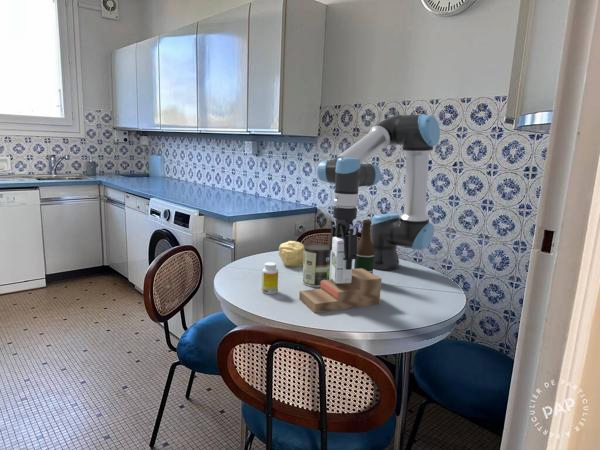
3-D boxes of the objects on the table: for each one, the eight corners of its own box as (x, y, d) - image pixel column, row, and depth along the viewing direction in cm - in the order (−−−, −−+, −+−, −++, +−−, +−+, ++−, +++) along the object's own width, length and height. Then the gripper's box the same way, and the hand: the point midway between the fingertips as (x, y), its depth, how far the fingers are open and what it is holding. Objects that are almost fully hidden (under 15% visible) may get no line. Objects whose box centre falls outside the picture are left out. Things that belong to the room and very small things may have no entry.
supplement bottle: (280, 293, 145) (281, 265, 143) (265, 295, 142) (265, 266, 140) (273, 288, 150) (274, 260, 148) (259, 290, 147) (260, 262, 145)
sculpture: (274, 265, 178) (275, 241, 175) (289, 259, 188) (290, 236, 186) (297, 270, 172) (298, 245, 170) (311, 264, 182) (313, 240, 180)
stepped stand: (360, 292, 150) (361, 268, 148) (379, 304, 139) (381, 278, 137) (299, 299, 140) (300, 273, 138) (314, 313, 129) (316, 285, 128)
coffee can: (330, 280, 162) (333, 244, 159) (327, 288, 152) (329, 251, 149) (304, 277, 164) (306, 242, 161) (299, 285, 154) (301, 248, 151)
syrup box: (351, 283, 136) (354, 240, 133) (334, 283, 135) (337, 240, 132) (346, 277, 141) (349, 236, 139) (329, 278, 140) (332, 236, 137)
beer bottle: (367, 285, 158) (372, 223, 153) (349, 281, 162) (353, 220, 157) (375, 280, 164) (380, 220, 160) (357, 276, 168) (361, 217, 164)
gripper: (321, 202, 140) (317, 267, 145) (350, 211, 123) (345, 285, 128) (340, 201, 144) (336, 266, 148) (372, 210, 126) (366, 283, 131)
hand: (341, 275), depth 138 cm, fingers closed on syrup box, 6 cm apart
